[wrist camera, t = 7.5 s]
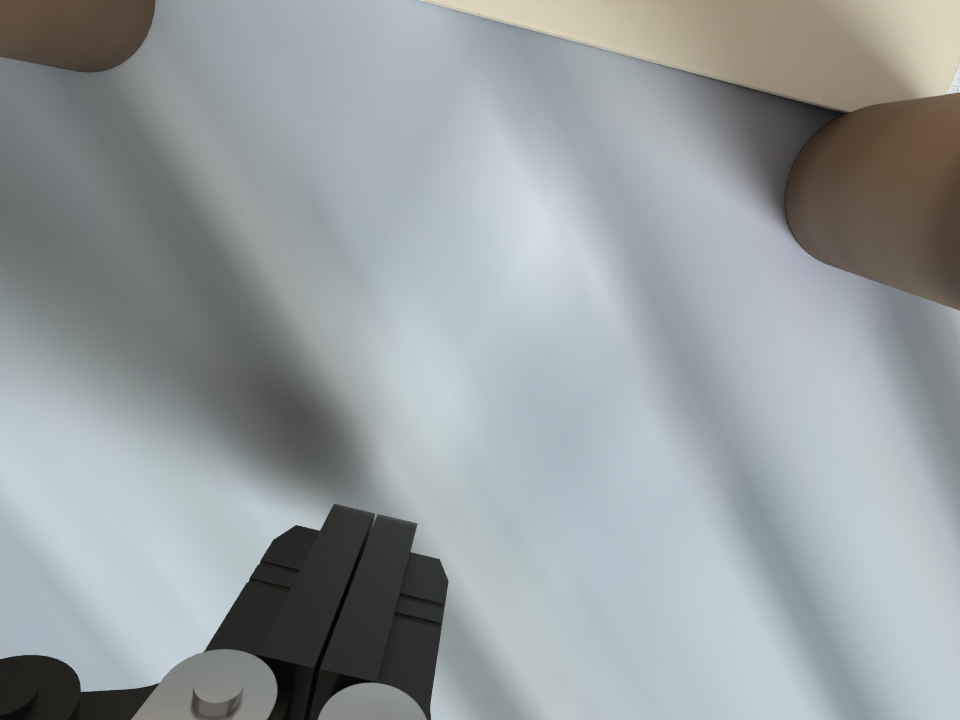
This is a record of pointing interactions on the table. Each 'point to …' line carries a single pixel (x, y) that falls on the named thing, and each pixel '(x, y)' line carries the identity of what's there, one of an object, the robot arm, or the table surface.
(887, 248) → the post
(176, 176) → the table surface
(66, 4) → the post
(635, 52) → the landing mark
